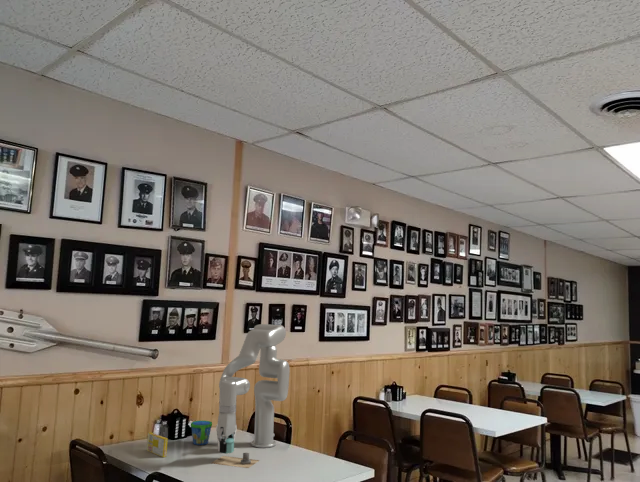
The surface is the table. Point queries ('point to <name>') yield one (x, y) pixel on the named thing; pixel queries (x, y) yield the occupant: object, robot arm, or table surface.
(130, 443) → the table surface
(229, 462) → the board
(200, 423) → the snack cup
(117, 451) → the table surface
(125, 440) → the table surface
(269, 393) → the robot arm
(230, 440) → the cap
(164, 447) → the candy box
